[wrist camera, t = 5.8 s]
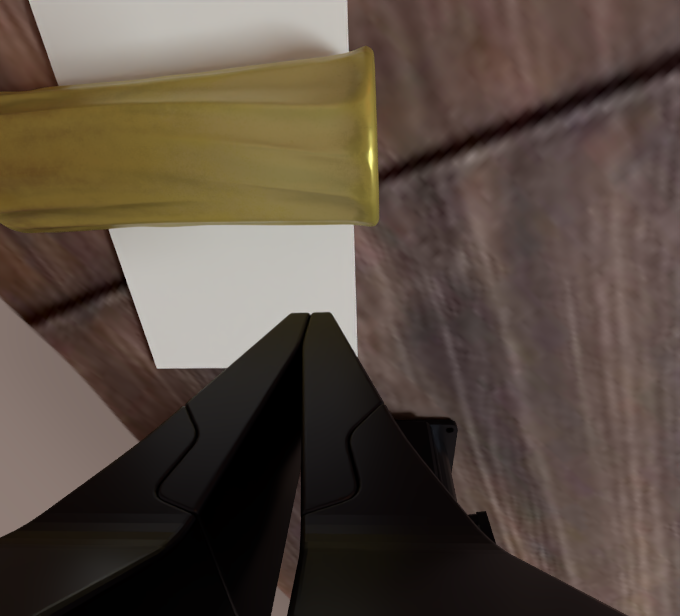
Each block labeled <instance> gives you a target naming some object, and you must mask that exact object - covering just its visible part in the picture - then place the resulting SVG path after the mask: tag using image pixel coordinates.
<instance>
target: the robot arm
mask: <svg viewBox="0 0 680 616" xmlns="http://www.w3.org/2000/svg"><path fill="white" fill-rule="evenodd" d="M449 427H451V428H449ZM457 431H458V429H457V425H456V422H455V421H453V420H394V419H393V417H392V415H391V413H390V412H389V410H388V408H387V407H386V405H384V402H383V400H382V398H381V397H380V395H379V393H378V392H377V390H376V388H375V386H374V385H373V383H372V381H371V380H370V378H369V376H368V374H367V373H366V371H365V369H364V368H363V366H362V364H361V363H360V361H359V359H358V357H357V356H356V354H355V352H354V351H353V349H352V347H351V345H350V344H349V342H348V340H347V339H346V337H345V335H344V333H343V332H342V330H341V328H340V327H339V325H338V323H337V321H336V320H335V318H334V316H333V315H332V313H330V312H314V313H312V314H311V315H310V313H307V312H306V313H290V314H289V315H288V316H287V317H285V318H284V319H283V320H282V321H281V322H280V323H278V324H277V325H276V326H275V327H274V328H273V329H272V330H270V331H269V332H268V333H267V334H266V335H265V336H263V337H262V338H261V339H260V340H259V341H258V342H257V343H255V344H254V345H253V346H252V347H251V348H250V349H248V350H247V351H246V352H245V353H244V354H243V355H242V356H240V357H239V358H238V359H237V360H236V361H235V362H233V363H232V364H231V365H230V366H229V367H228V368H226V369H225V370H224V371H223V372H222V373H221V374H220V375H218V376H217V377H216V378H215V379H214V380H213V381H211V382H210V383H209V384H208V385H207V386H206V387H205V388H203V389H202V390H201V391H200V392H199V393H198V394H196V395H195V396H194V397H193V398H192V399H191V400H190V401H188V402H187V403H186V407H185V406H183V407H181V408H180V409H179V410H178V411H177V412H175V413H174V414H173V415H172V416H171V417H170V418H169V419H167V420H166V421H165V422H164V423H162V424H161V425H160V426H159V427H158V428H156V429H155V430H154V431H153V432H152V433H150V434H149V435H148V436H147V437H146V438H144V439H143V440H142V441H140V442H139V443H138V444H136V445H135V446H134V447H133V448H131V449H130V450H129V451H127V452H126V453H124V454H123V455H122V456H121V457H119V458H118V459H117V460H115V461H114V462H112V463H111V464H110V465H108V466H107V467H106V468H104V469H103V470H102V471H100V472H99V473H97V474H96V475H95V476H93V477H92V478H90V479H89V480H88V481H86V482H85V483H84V484H82V485H81V486H79V487H78V488H77V489H75V490H74V491H73V492H71V493H70V494H68V495H67V496H66V497H64V498H63V499H62V500H60V501H59V502H58V503H56V504H55V505H53V506H52V507H51V508H49V509H48V510H47V511H45V512H44V513H42V514H41V515H39V516H38V517H36V518H35V519H33V520H32V521H31V522H29V523H27V524H26V525H24V526H23V527H20V528H19V529H17V530H15V531H13V532H11V533H9V534H7V535H5V536H3V537H1V538H0V616H271V612H272V607H273V602H274V597H275V592H276V587H277V582H278V578H279V573H280V568H281V563H282V558H283V553H284V548H285V543H286V538H287V533H288V528H289V523H290V518H291V513H292V508H293V503H294V498H295V493H296V488H297V484H298V479H299V474H300V469H301V536H300V553H299V560H298V564H297V569H296V574H295V579H294V584H293V589H292V594H291V599H290V604H289V609H288V614H287V616H627V615H625V614H624V613H622V612H620V611H618V610H616V609H614V608H612V607H610V606H608V605H606V604H605V603H603V602H601V601H599V600H597V599H595V598H593V597H591V596H589V595H587V594H585V593H584V592H582V591H580V590H578V589H576V588H574V587H572V586H570V585H568V584H566V583H564V582H563V581H561V580H559V579H557V578H555V577H553V576H551V575H549V574H547V573H545V572H543V571H542V570H540V569H538V568H536V567H534V566H532V565H530V564H528V563H526V562H524V561H522V560H521V559H519V558H517V557H515V556H513V555H511V554H509V553H508V552H506V551H505V550H503V549H502V548H500V547H499V546H498V545H496V542H495V539H494V536H493V533H492V529H491V526H490V523H489V520H488V516H487V513H486V511H483V512H476V514H470V515H467V514H466V512H465V511H464V510H463V509H462V508H461V506H460V505H459V504H458V503H457V499H456V494H455V489H454V484H453V479H452V474H451V473H452V466H453V459H454V452H455V445H456V438H457Z"/></svg>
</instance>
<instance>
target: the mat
mask: <svg viewBox="0 0 680 616" xmlns="http://www.w3.org/2000/svg"><path fill="white" fill-rule="evenodd" d="M29 3H30V5H31V8H32V11H33V14H34V17H35V20H36V23H37V26H38V28H39V31H40V34H41V37H42V40H43V43H44V46H45V49H46V51H47V54H48V57H49V60H50V63H51V66H52V69H53V71H54V74H55V77H56V80H57V83H58V86H66V85H77V84H88V83H100V82H112V81H125V80H138V79H147V78H153V77H160V76H168V75H178V74H190V73H199V72H207V71H214V70H220V69H227V68H235V67H242V66H249V65H258V64H266V63H274V62H282V61H290V60H299V59H308V58H317V57H325V56H332V55H338V54H343V53H347V52H349V47H348V13H347V0H29ZM109 232H110V235H111V238H112V241H113V244H114V247H115V249H116V252H117V255H118V258H119V261H120V264H121V267H122V270H123V272H124V275H125V278H126V281H127V284H128V287H129V290H130V292H131V295H132V298H133V301H134V304H135V307H136V310H137V313H138V315H139V318H140V321H141V324H142V327H143V330H144V333H145V336H146V338H147V341H148V344H149V347H150V350H151V353H152V356H153V358H154V361H155V364H156V367H157V368H228V367H229V366H230V365H231V364H232V363H233V362H235V361H236V360H237V359H238V358H239V357H240V356H242V355H243V354H244V353H245V352H246V351H247V350H248V349H250V348H251V347H252V346H253V345H254V344H255V343H257V342H258V341H259V340H260V339H261V338H262V337H263V336H265V335H266V334H267V333H268V332H269V331H270V330H272V329H273V328H274V327H275V326H276V325H277V324H278V323H280V322H281V321H282V320H283V319H284V318H285V317H287V316H288V315H289V314H290V313H306V312H307V313H310V315H311V314H312V313H314V312H330V313H332V315H333V316H334V318H335V320H336V321H337V323H338V325H339V327H340V328H341V330H342V332H343V333H344V335H345V337H346V339H347V340H348V342H349V344H350V345H351V347H352V349H353V351H354V352H355V354H356V356H357V357H358V354H357V320H356V286H355V252H354V225H201V226H182V227H127V228H114V229H109Z"/></svg>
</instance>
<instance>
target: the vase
mask: <svg viewBox="0 0 680 616" xmlns="http://www.w3.org/2000/svg"><path fill="white" fill-rule="evenodd" d="M378 221H379V183H378V146H377V115H376V87H375V64H374V53H373V51H372V49H371V48H369V47H367V46H364V47H361V48H359V49H356V50H354V51H351V52H347V53H343V54H338V55H332V56H325V57H317V58H308V59H299V60H290V61H282V62H274V63H266V64H258V65H249V66H242V67H235V68H227V69H220V70H214V71H207V72H199V73H190V74H178V75H168V76H160V77H153V78H147V79H138V80H125V81H112V82H100V83H88V84H77V85H66V86H54V87H45V88H39V89H35V90H29V91H20V92H0V223H1V224H3V225H4V226H6V227H8V228H10V229H12V230H15V231H19V232H24V233H37V232H73V231H87V230H101V229H114V228H127V227H182V226H201V225H361V226H375V225H376V224H377V223H378Z"/></svg>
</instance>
